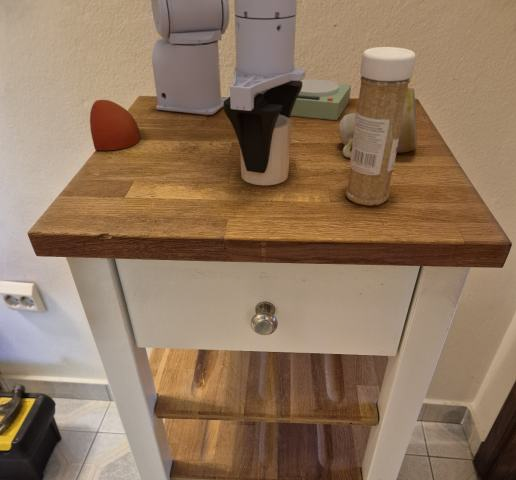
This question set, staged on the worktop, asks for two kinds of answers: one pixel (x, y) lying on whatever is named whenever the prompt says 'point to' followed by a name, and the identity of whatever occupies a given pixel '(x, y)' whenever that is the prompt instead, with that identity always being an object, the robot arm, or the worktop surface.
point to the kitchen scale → (321, 99)
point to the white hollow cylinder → (273, 157)
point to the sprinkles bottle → (378, 122)
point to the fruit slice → (112, 126)
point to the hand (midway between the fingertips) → (264, 161)
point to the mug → (406, 132)
